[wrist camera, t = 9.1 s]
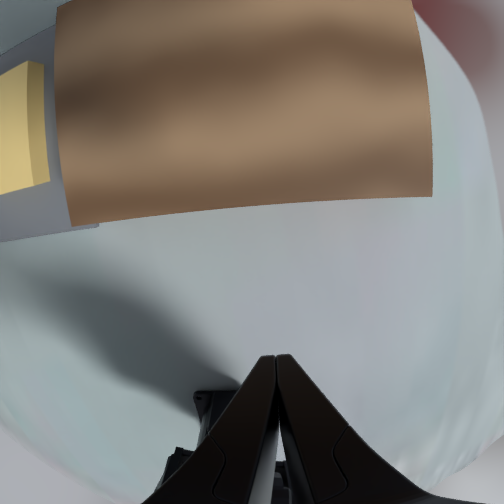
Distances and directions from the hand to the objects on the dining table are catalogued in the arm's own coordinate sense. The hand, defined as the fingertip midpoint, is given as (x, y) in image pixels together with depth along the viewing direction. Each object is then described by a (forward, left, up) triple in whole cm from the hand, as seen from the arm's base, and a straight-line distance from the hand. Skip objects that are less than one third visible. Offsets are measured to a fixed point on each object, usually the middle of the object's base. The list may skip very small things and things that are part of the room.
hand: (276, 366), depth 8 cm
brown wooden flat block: (+10, +1, -12) cm, 16 cm away
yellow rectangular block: (+10, +18, -10) cm, 23 cm away
